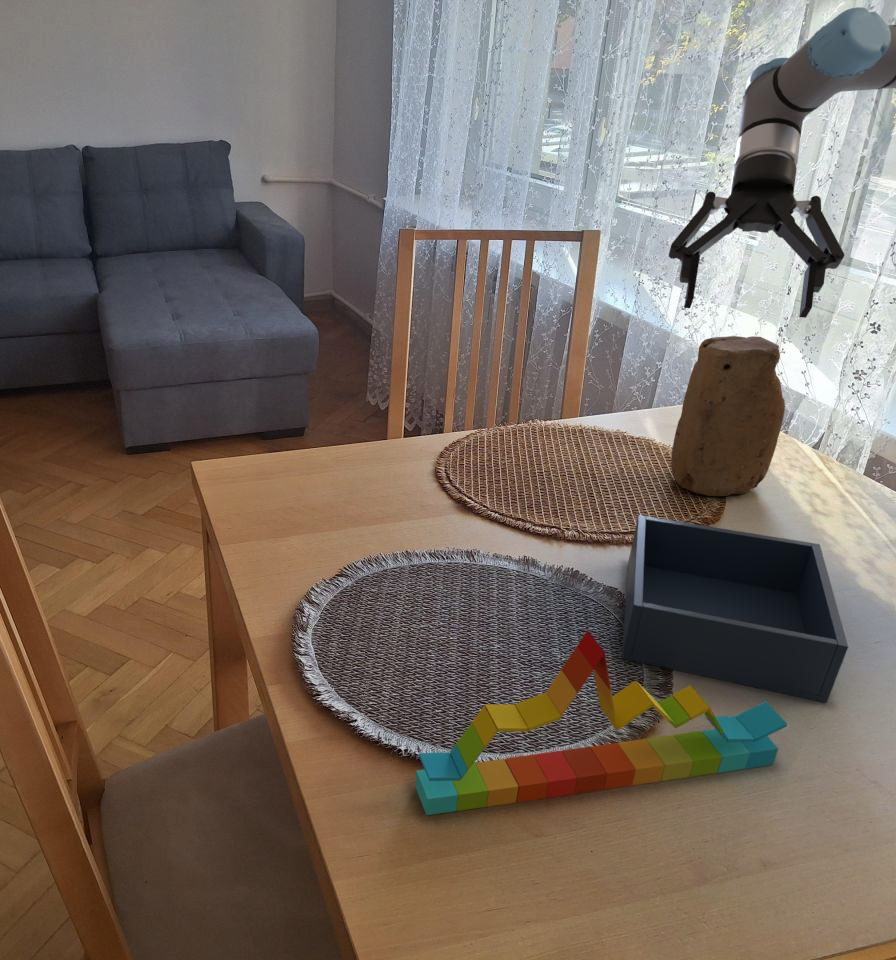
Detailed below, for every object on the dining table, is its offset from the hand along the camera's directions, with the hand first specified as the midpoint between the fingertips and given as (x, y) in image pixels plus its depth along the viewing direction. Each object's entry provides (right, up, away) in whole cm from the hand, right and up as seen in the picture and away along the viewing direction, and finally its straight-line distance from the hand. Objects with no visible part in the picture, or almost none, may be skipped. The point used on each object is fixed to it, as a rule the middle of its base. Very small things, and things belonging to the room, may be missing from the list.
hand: (745, 308), depth 112 cm
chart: (-36, -48, -40) cm, 71 cm away
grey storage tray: (-16, -38, -23) cm, 47 cm away
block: (-3, -23, +2) cm, 24 cm away
